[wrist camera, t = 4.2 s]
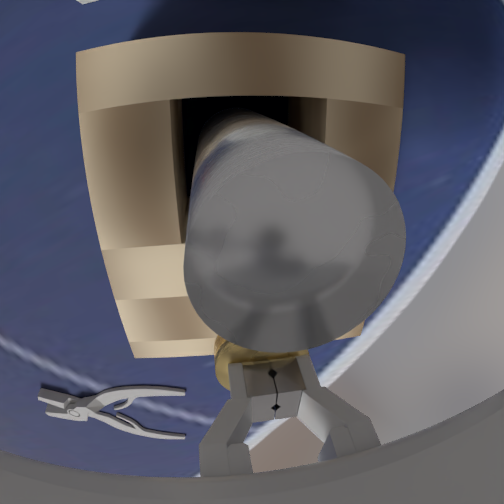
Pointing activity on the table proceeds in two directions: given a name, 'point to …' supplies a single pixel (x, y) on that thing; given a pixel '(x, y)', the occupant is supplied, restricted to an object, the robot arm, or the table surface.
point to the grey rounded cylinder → (285, 235)
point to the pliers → (90, 406)
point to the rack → (85, 1)
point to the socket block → (173, 158)
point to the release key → (241, 357)
